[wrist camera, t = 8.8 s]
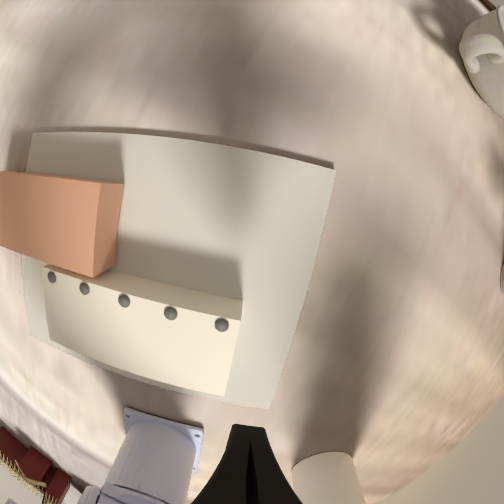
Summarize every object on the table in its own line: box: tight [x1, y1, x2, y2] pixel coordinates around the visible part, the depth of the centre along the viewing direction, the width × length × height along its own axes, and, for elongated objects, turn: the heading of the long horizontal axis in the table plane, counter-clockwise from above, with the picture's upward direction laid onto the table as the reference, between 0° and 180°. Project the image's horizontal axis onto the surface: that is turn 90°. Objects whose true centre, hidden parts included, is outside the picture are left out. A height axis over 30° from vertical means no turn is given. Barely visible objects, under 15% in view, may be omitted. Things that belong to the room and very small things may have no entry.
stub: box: [0, 171, 124, 278], centre depth 15 cm, size 6×14×3 cm, turn 78°
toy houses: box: [0, 426, 71, 504], centre depth 24 cm, size 45×20×10 cm, turn 59°
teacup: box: [459, 5, 504, 119], centre depth 10 cm, size 14×11×8 cm
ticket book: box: [43, 264, 243, 396], centre depth 17 cm, size 6×14×3 cm, turn 78°
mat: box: [21, 132, 336, 409], centre depth 18 cm, size 19×24×1 cm
